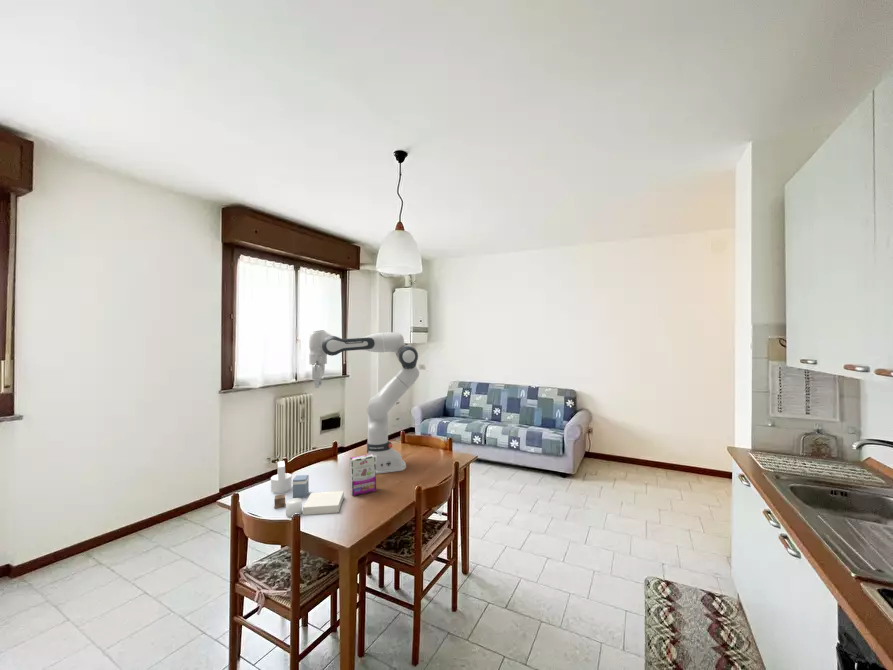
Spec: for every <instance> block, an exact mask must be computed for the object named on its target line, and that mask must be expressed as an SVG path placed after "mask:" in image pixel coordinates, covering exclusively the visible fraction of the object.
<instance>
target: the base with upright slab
mask: <svg viewBox="0 0 893 670" xmlns="http://www.w3.org/2000/svg"><path fill="white" fill-rule="evenodd" d="M292 478H293V477H292V474H291V473H288V472H287V473H286V463H285V460H280V461H277V474H274V475H272V476H271V477H270V492H271V493H272V492H274V493H273V494H283V493H286V491H287V492H289V491H290V490H292V489H293V479H292ZM282 492H283V493H282Z"/></svg>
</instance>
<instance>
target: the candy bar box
mask: <svg viewBox="0 0 893 670" xmlns="http://www.w3.org/2000/svg"><path fill="white" fill-rule="evenodd" d="M376 475H377V474H376V465H375V456H374V455H373V454H368V455H367V454H362V455H357V456H352V457H349V479H350V480H349V483H350V484H349V485H350V490H349V491H350V494H351V496H353V497H354V496H360V495H365V494H369V493H373V492H376V491H377V477H376Z"/></svg>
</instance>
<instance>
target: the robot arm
mask: <svg viewBox="0 0 893 670" xmlns="http://www.w3.org/2000/svg"><path fill="white" fill-rule="evenodd" d="M308 343H309V362H308V363H309V365H311V368H312V369H311V379H312V380H313V381H314V389H319V388H320V386H322V380H323V377H324V375H325V369H326V365H327V364H328V356H331V357H332V356H337V355H339V354H340V353H343V352H346V351H347V352H348V351H368V352H373V353H387V352H388V353H389V352H390V353H395V355H396V358H397V360H398V362H399V363H400V364H401V366H400V369H399V370H398V371H397V372H396V373H395V374H394V375H393V376H392V377H391V378H390V379H389V380H388V381H387V383H385V384H384V385H383V387H382V388H381V389H380V390H379V391H378V392H377V394H376V395H373V396H371V398H370V399H369V400H368V402H367V407H366V412H367V442H366V455H368V454H373V455H374V456H375V465H376V475H379V474H386V473H393V472H401V471H404V470H405V469H406V468H407V464H406V462H405V461H404V460H403V458H402V455H401V453H400V452H399V451H397V450H395V449H394V448H393V444H392V441H389V434H388V433H389V431H388V430H389V429H388V428H389V427H388V426H389V424H388V422H389V421H388V418H389V415H388V414H389V412H390V410H392V409H393V407H394V406H395V405H396V403H397V402H398V401H399V400H400V399H401V397H402V396H403V395H405V393H407V391H408V390H409V389H410V388H411V387H412V386H413V385H414V384H415V382H416V381H417V379H418V378H419V376H420V370H419V369H418V367H417V362H418V358H419V353H418V351H417V349H416V348H415V347H413V346H412V345H408V344H407V343H405V338H404V336H403V335H402V334H401V333H399V332H393V331H389V332H388V331H386V332H385V331H384V332H376V333H371V334H368V335H366V336H363V337H354V338H352V337H351V338H341V337H340V336H336V335H334V334H330V333H328V332H327V331H325V330H322V329H321V330H315V331H313V332H311V333H310V335H309V342H308ZM327 355H328V356H327Z"/></svg>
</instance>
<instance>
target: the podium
mask: <svg viewBox="0 0 893 670" xmlns="http://www.w3.org/2000/svg"><path fill="white" fill-rule="evenodd" d="M344 495H345V491H344V490H339V491H338V490H337V491H323V492H311V493H310V495H309V496H308V498H307V499H306V501H305V503H304V504H303V505H302V515H303V516H307V515H320V514H323V515H324V514H336V513H339V512H340V509H341V507H342V503H343V500H344V497H345V496H344Z"/></svg>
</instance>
